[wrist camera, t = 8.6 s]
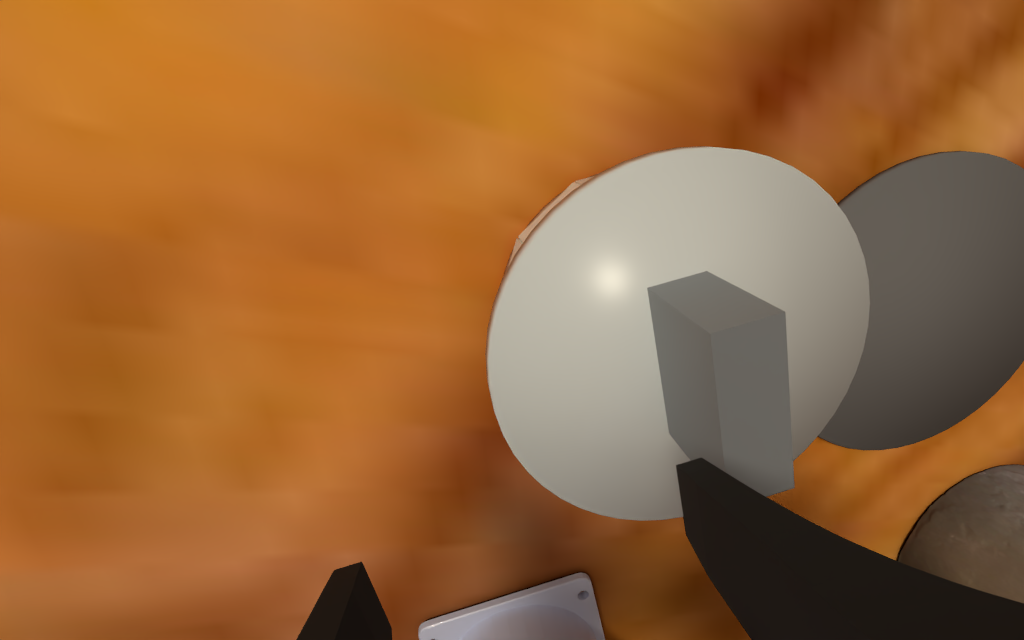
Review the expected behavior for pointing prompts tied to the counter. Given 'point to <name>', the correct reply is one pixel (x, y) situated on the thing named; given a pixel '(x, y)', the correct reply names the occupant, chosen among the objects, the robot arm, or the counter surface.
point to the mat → (934, 296)
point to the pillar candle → (975, 534)
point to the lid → (676, 329)
